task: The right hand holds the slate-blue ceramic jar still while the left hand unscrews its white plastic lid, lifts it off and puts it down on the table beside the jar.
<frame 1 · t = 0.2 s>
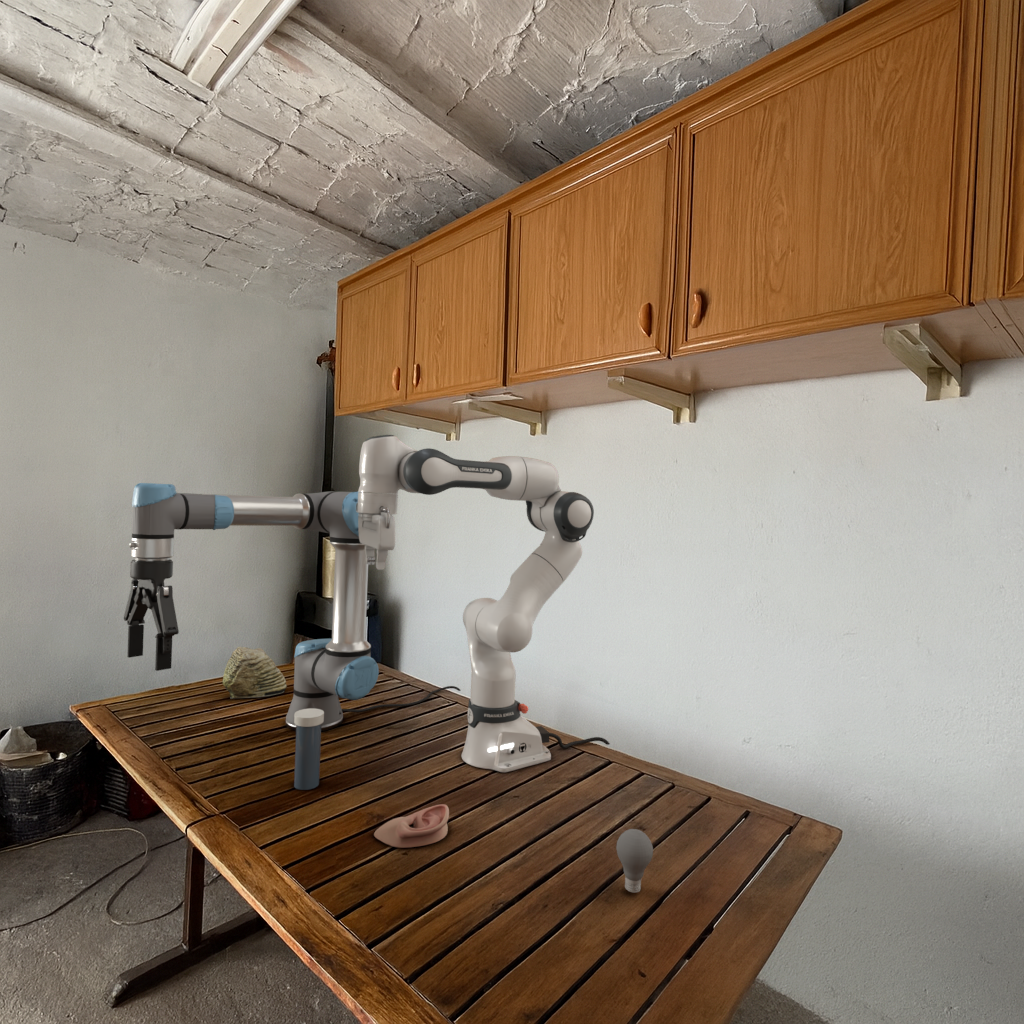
left hand: (148, 662, 129), 28 cm above the table, tool pointing down, fingers open, 13 cm apart
right hand: (375, 566, 144), 48 cm above the table, tool pointing down, fingers open, 8 cm apart
fossil: (254, 694, 198), on the table
jar: (306, 784, 139), on the table
light bulb: (632, 891, 106), on the table
anatomical model: (412, 833, 121), on the table
lid: (309, 714, 139), point 15 cm above the table, screwed on, not yet turned
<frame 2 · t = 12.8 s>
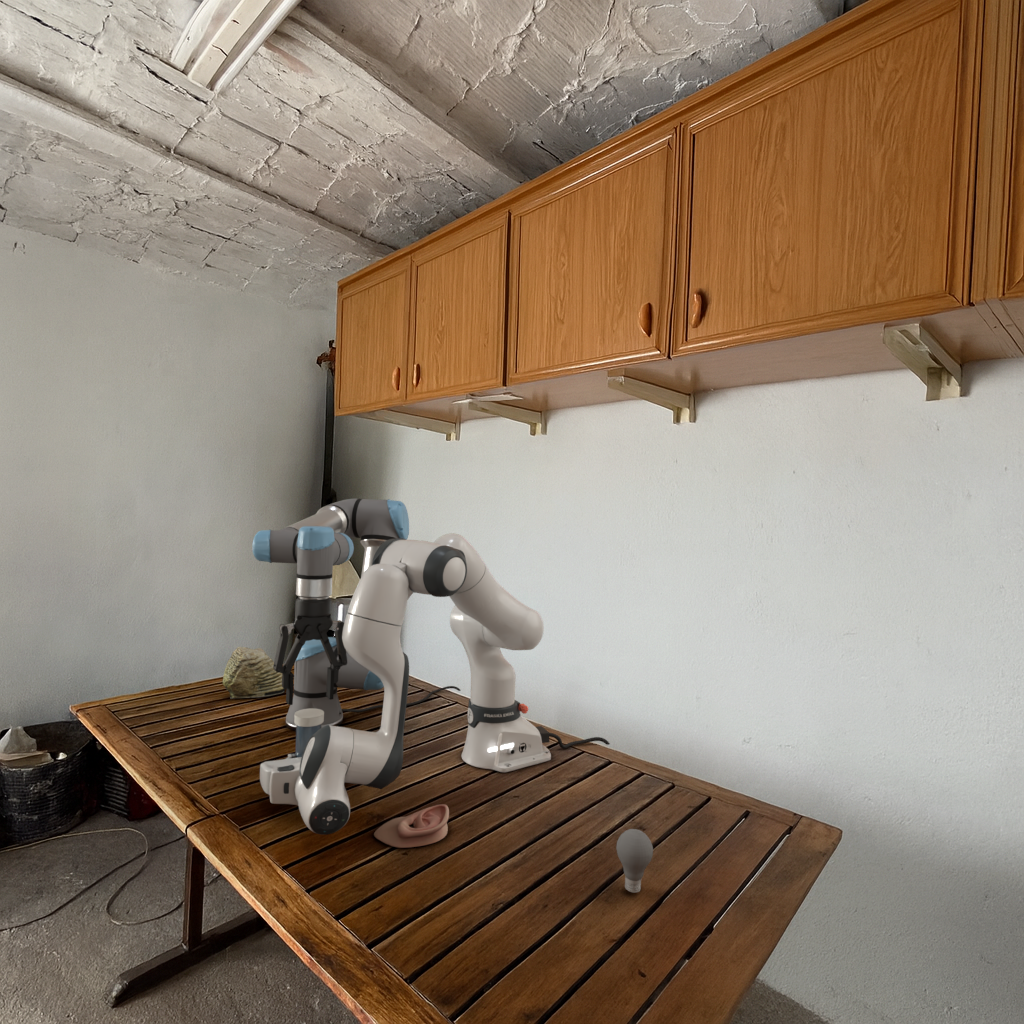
left hand: (309, 700, 139), 19 cm above the table, tool pointing down, fingers open, 8 cm apart
right hand: (306, 755, 140), 6 cm above the table, tool horizontal, fingers closed on jar, 5 cm apart
jar: (306, 784, 139), on the table, touching right hand
everything else where it was.
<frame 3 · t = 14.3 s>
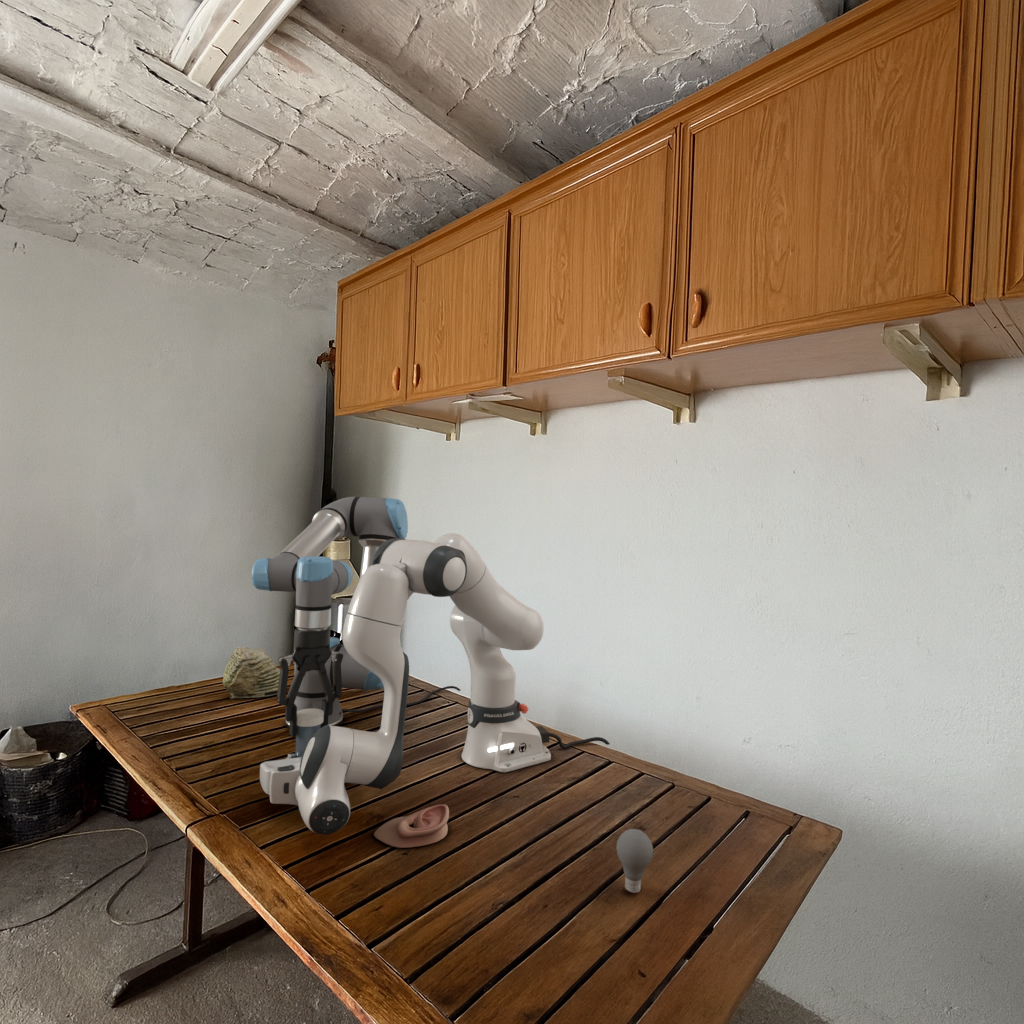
left hand: (308, 732, 139), 12 cm above the table, tool pointing down, fingers closed on lid, 6 cm apart
right hand: (306, 755, 140), 6 cm above the table, tool horizontal, fingers closed on jar, 5 cm apart
jar: (306, 784, 139), on the table, touching right hand
lid: (309, 714, 139), point 15 cm above the table, screwed on, not yet turned, touching left hand
everything else where it was.
when the left hand's fingers open (12 cm above the table, at t = 15.8 s): lid stays where it is, point 16 cm above the table.
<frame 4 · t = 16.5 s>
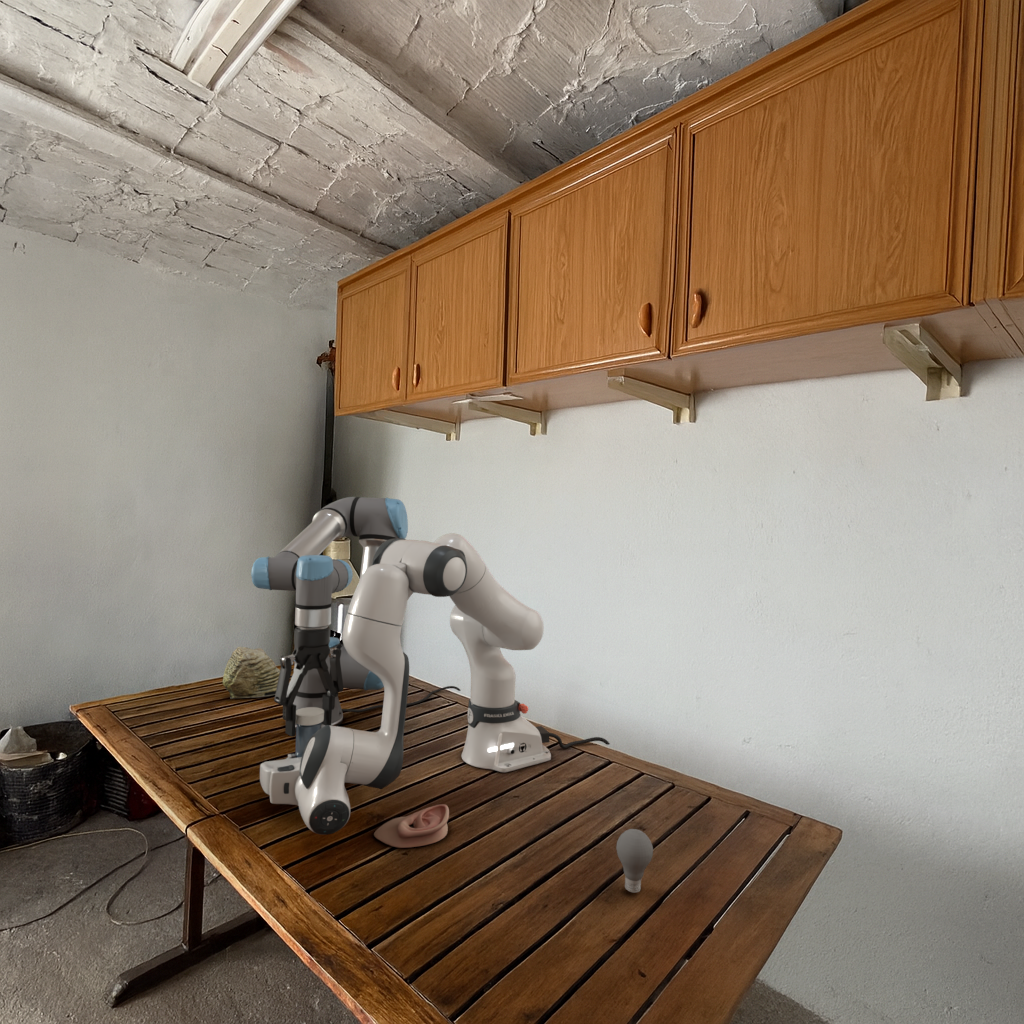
left hand: (308, 729, 139), 12 cm above the table, tool pointing down, fingers open, 8 cm apart
right hand: (306, 755, 140), 6 cm above the table, tool horizontal, fingers closed on jar, 5 cm apart
jar: (306, 784, 139), on the table, touching right hand
lid: (309, 713, 139), point 16 cm above the table, turned 93° so far, risen 0.3 cm, still on its thread
everything else where it was.
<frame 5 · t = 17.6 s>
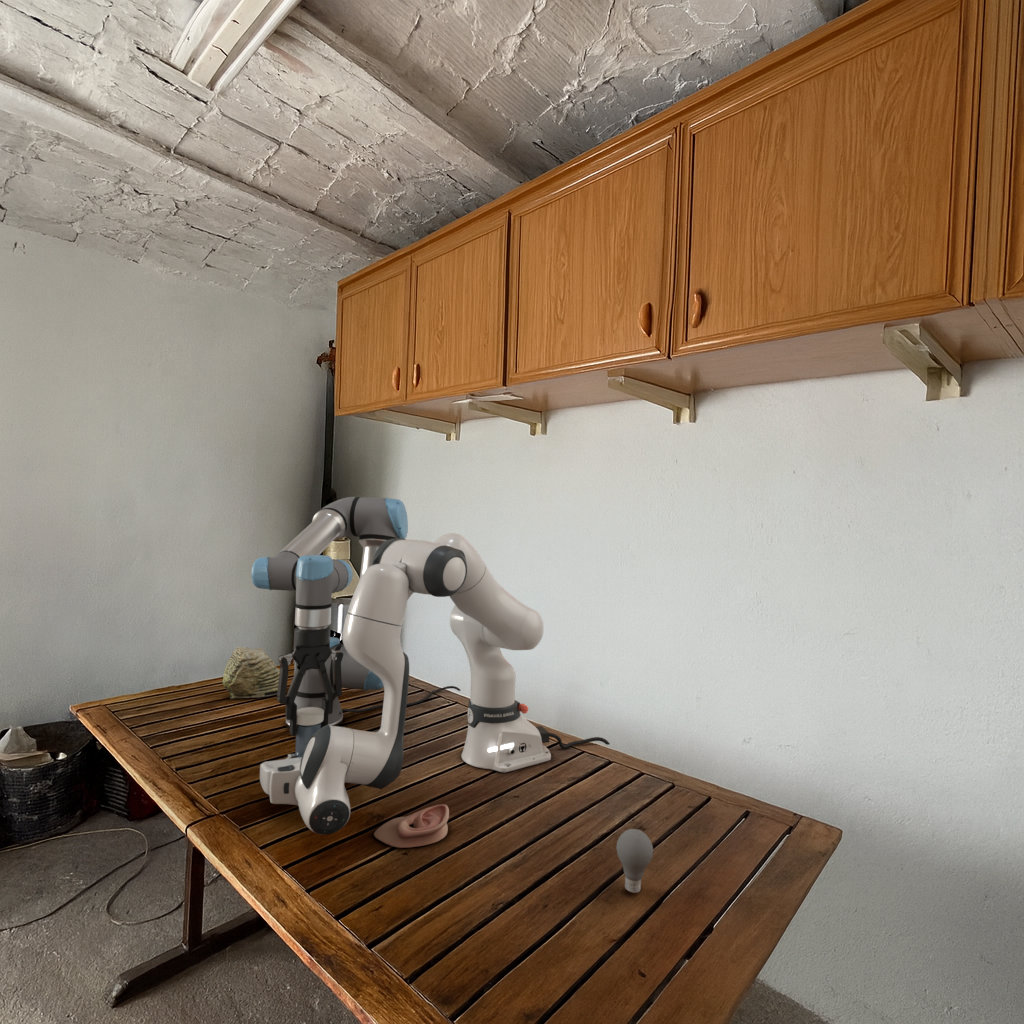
left hand: (308, 731, 139), 12 cm above the table, tool pointing down, fingers closed on lid, 6 cm apart
right hand: (306, 755, 140), 6 cm above the table, tool horizontal, fingers closed on jar, 5 cm apart
jar: (306, 784, 139), on the table, touching right hand
lid: (309, 713, 139), point 16 cm above the table, turned 93° so far, risen 0.3 cm, still on its thread, touching left hand
everything else where it was.
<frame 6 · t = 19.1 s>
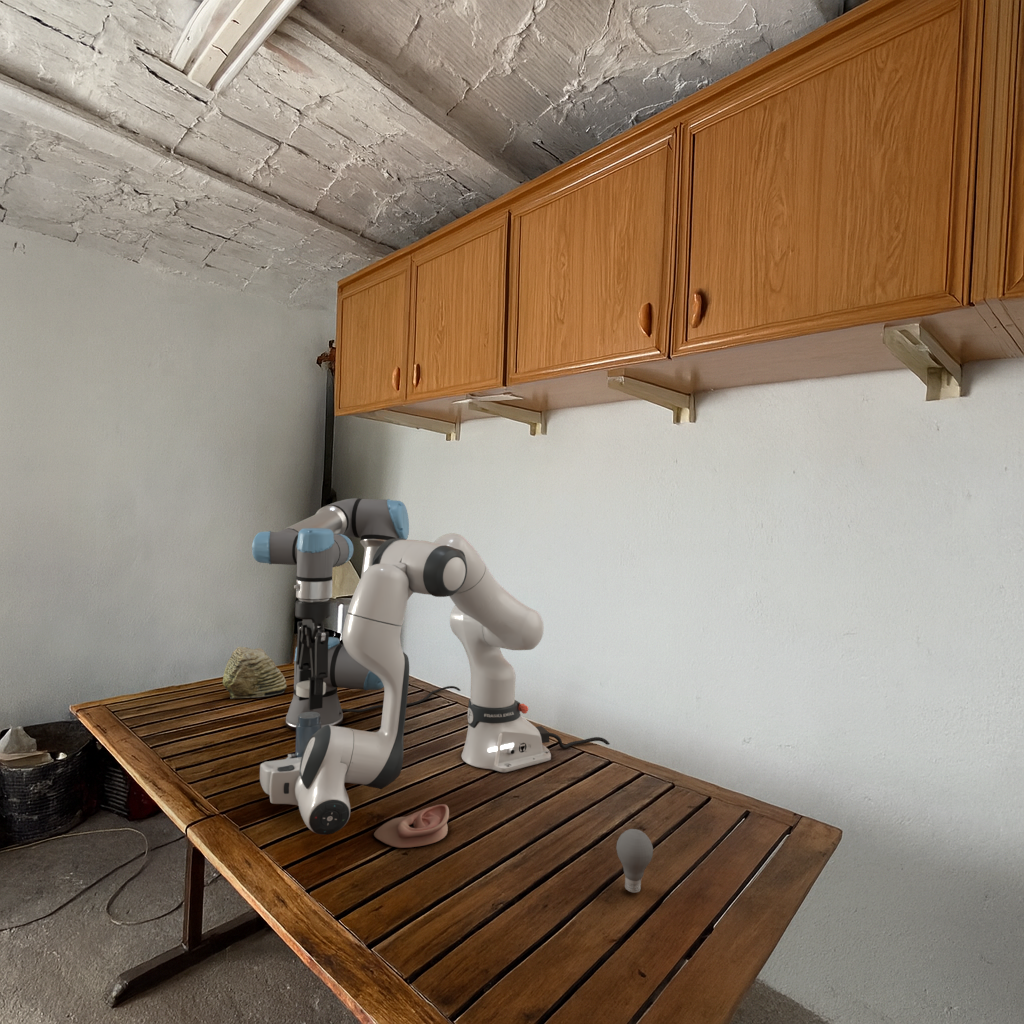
left hand: (310, 703, 139), 18 cm above the table, tool pointing down, fingers closed on lid, 6 cm apart
right hand: (306, 755, 140), 6 cm above the table, tool horizontal, fingers closed on jar, 5 cm apart
jar: (306, 784, 139), on the table, touching right hand
lid: (311, 685, 139), point 22 cm above the table, off its thread, touching left hand
everything else where it was.
when the left hand's fingers open (0 cm above the table, at t = 25.1 s): lid drops 2 cm, point 2 cm above the table.
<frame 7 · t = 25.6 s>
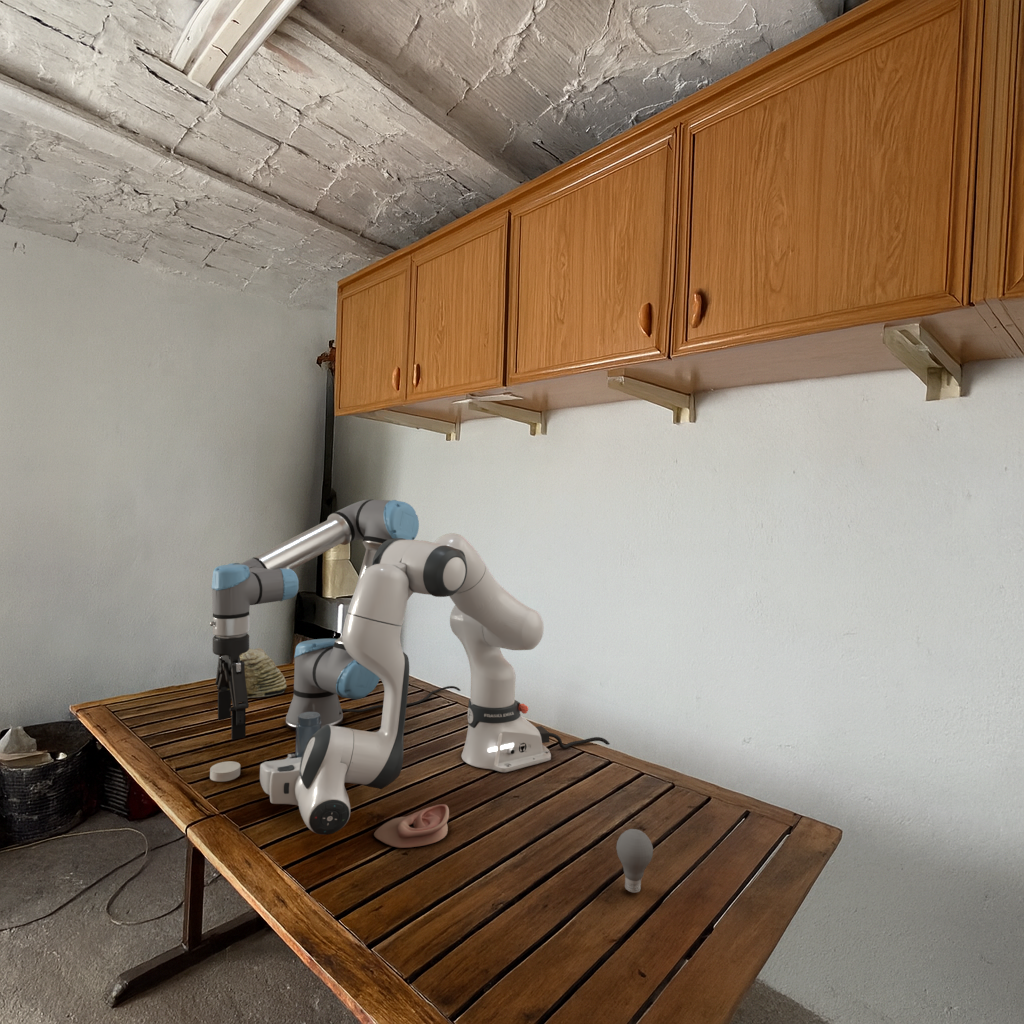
left hand: (231, 728, 142), 10 cm above the table, tool pointing down, fingers open, 13 cm apart
right hand: (306, 755, 140), 6 cm above the table, tool horizontal, fingers closed on jar, 5 cm apart
jar: (306, 784, 139), on the table, touching right hand
lid: (225, 768, 142), point 2 cm above the table, off its thread
everything else where it was.
when the right hand's fingers open (6 cm above the table, at t = 25.8 s): jar stays where it is, on the table.
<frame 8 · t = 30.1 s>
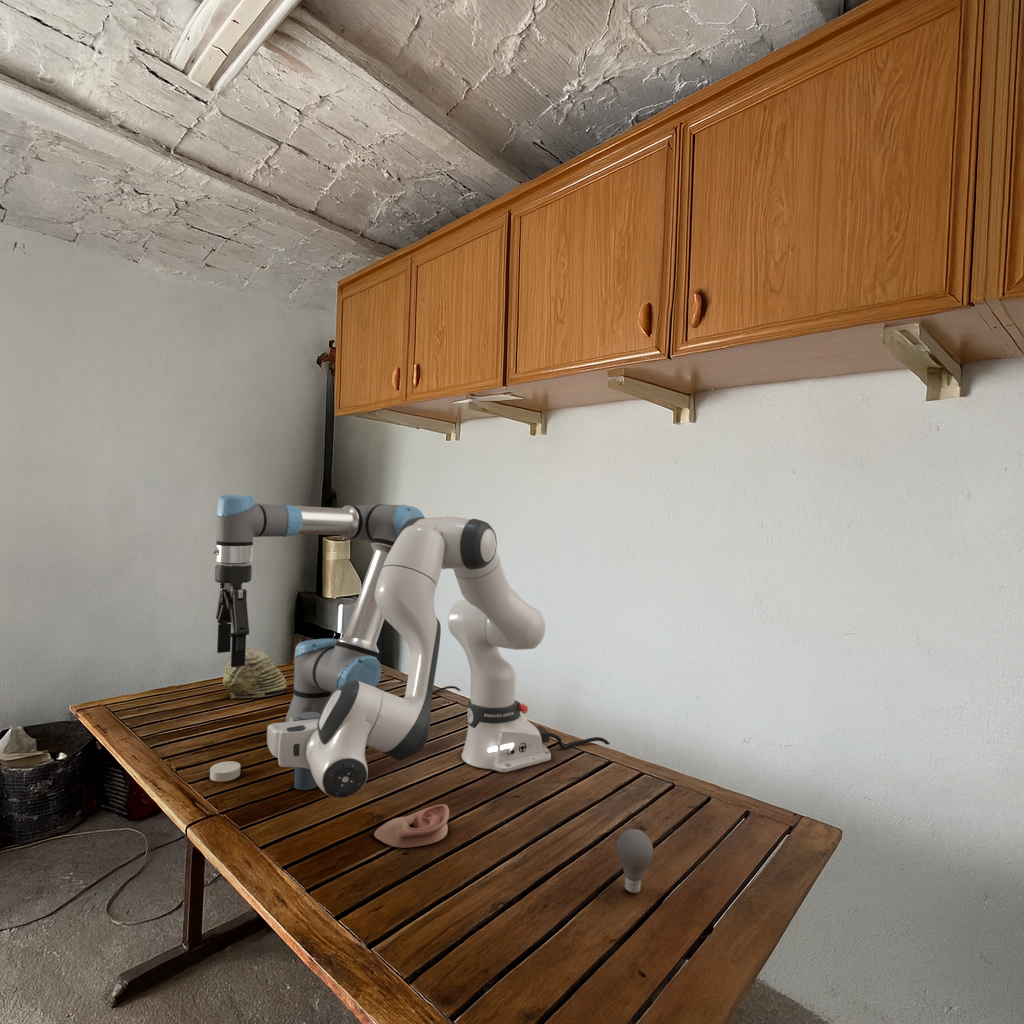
left hand: (230, 658, 141), 26 cm above the table, tool pointing down, fingers open, 13 cm apart
right hand: (317, 718, 129), 18 cm above the table, tool horizontal, fingers open, 8 cm apart
jar: (306, 784, 139), on the table
everything else where it was.
at the end: lid came off its thread; lid point 1.6 cm above the table; the left hand is holding nothing; the right hand is holding nothing; jar tilted 0°; jar moved 0.1 cm from its start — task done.
